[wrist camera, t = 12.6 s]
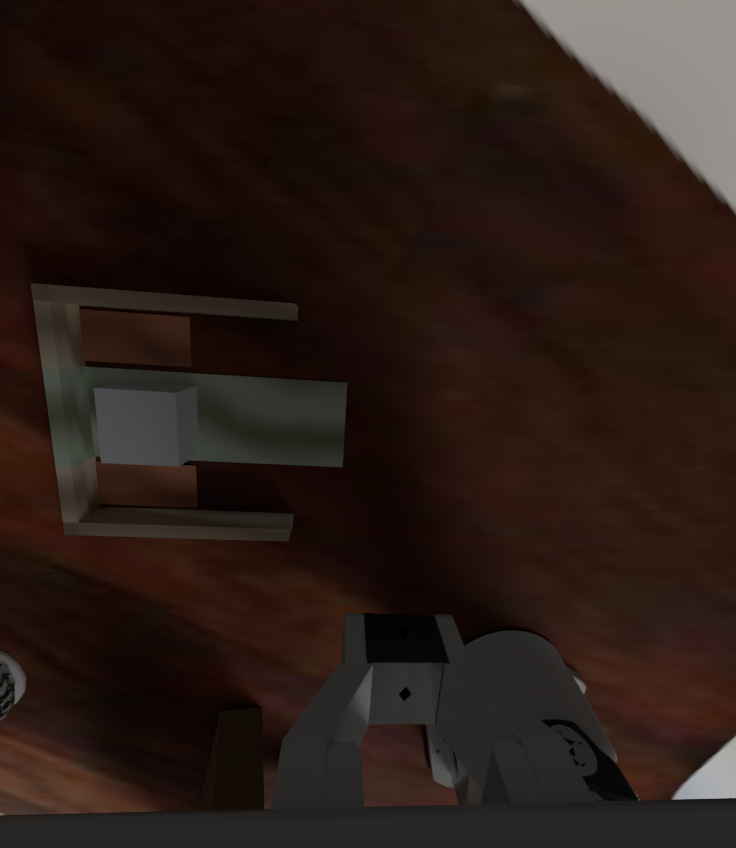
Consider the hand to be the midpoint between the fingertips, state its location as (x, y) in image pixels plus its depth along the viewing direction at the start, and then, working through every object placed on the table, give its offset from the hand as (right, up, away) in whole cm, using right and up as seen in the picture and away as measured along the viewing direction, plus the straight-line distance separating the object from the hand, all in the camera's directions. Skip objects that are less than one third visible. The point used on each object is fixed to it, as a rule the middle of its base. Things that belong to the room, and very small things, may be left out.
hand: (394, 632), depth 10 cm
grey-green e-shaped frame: (-15, +6, +22) cm, 27 cm away
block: (-19, +6, +22) cm, 30 cm away
